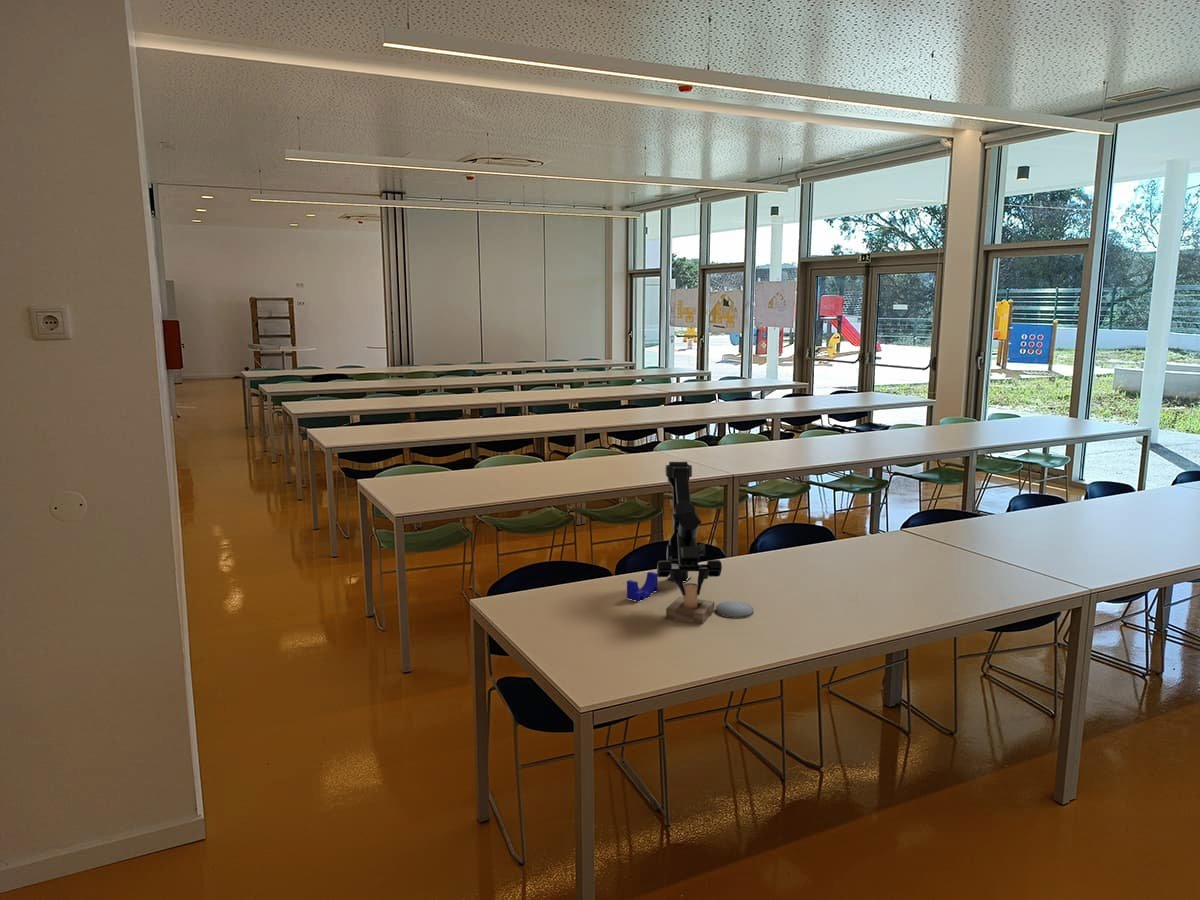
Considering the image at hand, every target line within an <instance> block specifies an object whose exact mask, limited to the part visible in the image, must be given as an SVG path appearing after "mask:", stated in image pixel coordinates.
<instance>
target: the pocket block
mask: <svg viewBox="0 0 1200 900" xmlns="http://www.w3.org/2000/svg"><path fill="white" fill-rule="evenodd" d="M713 611H714V612H715V601H711V600H705V599H699V598H697V609H690V608H684V596H678V597H677V598H675V600H673V602H672V603H670V604H669V606H667V607H666V608H665V619H666V620H667V619H668V620H674V621H680V622H685V623H687V622H689V623H694V624H699V623H701V625H704V623H705V622H706V621H707V620H708V619H709V618H710V617H711V615H712V614H713V613H714V612H713ZM709 616H710V617H709ZM708 617H709V618H708ZM707 618H708V619H707ZM706 619H707V620H706Z"/></svg>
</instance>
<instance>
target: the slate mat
mask: <svg viewBox="0 0 1200 900" xmlns="http://www.w3.org/2000/svg"><path fill="white" fill-rule="evenodd" d="M716 611H717V612H718V613H719V614H721V615H720V616H722V615H724V616H723V617H725V616H727V617H726V618H730V617H737V618H736V619H739V618H738V617H744V618H747V617H746V616H748V617H750V616H749V615H751V614H752V615H753V614H754V613H753V612H754V607H753V606H752V605H750V604H749V603H745V602H742V601H723V602H721V603H718V604H716V606H715V612H716ZM717 612H716V613H717ZM718 613H717V614H718ZM719 614H718V615H719ZM752 615H751V616H752Z"/></svg>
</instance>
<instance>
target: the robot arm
mask: <svg viewBox="0 0 1200 900" xmlns="http://www.w3.org/2000/svg"><path fill="white" fill-rule="evenodd" d="M664 472H665V476H666V478H667V482H668V484H669V486H670V487H671V489H672V518H671V519H672V526H673V532H672V534H671V536H670V538H669V540H668V544H667V545H666V555H665V556H666V560H658V562H657V566H656V573H657V576H658V578H667V579H668V580H667V581H670V580H674V581H673V582H674V583H675V585H677V587H678V589H679V591H680V593H681V594H682V597H684V582H683V581H687V580H686V579H687V578H688V575H689V572H698V575H697V585H698V596H700V593H701V589H702V585H703V583H704V582H705V580H708V578H710V577H714V578H715V577H716V578H717V577H721V574H722V573H721V572H722V570H723V569H722V568H723V565H722V561H720V559H708V560H707V562H706V564H699V563H700V556H705V555H706V545H705V543H699V544H697V536H698V532H699V526H700V525H702V520H701V517H699V515H698V513H696V512H697V511H696V506H695V505H694V504H693V503H692V502H691V495H690V485H689V481H690V478H691V477H693V465H692V464H688V461H669V462H668V464H665V471H664ZM687 582H688V581H687Z"/></svg>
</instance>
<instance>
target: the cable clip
mask: <svg viewBox="0 0 1200 900" xmlns="http://www.w3.org/2000/svg"><path fill="white" fill-rule="evenodd" d="M658 578H659V577H658V576H657V572H652V571H649V572H647V574H646V580H645V581H644V584H643V586H642V587H641V588H639V584H638V583H639V582H638V581H636V580H635V581H634V580H631V579H629V580H627V581H626V599H627V598H629V599H632V600H636V601H640V600H643V599H645V598H648V597H650V598H651V595H652V594H651V593H653V592H654V591H657V592H658V583H659V582H658V580H659V579H658ZM653 594H654V593H653ZM648 599H649V598H648ZM645 600H646V599H645ZM643 601H644V600H643Z"/></svg>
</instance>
